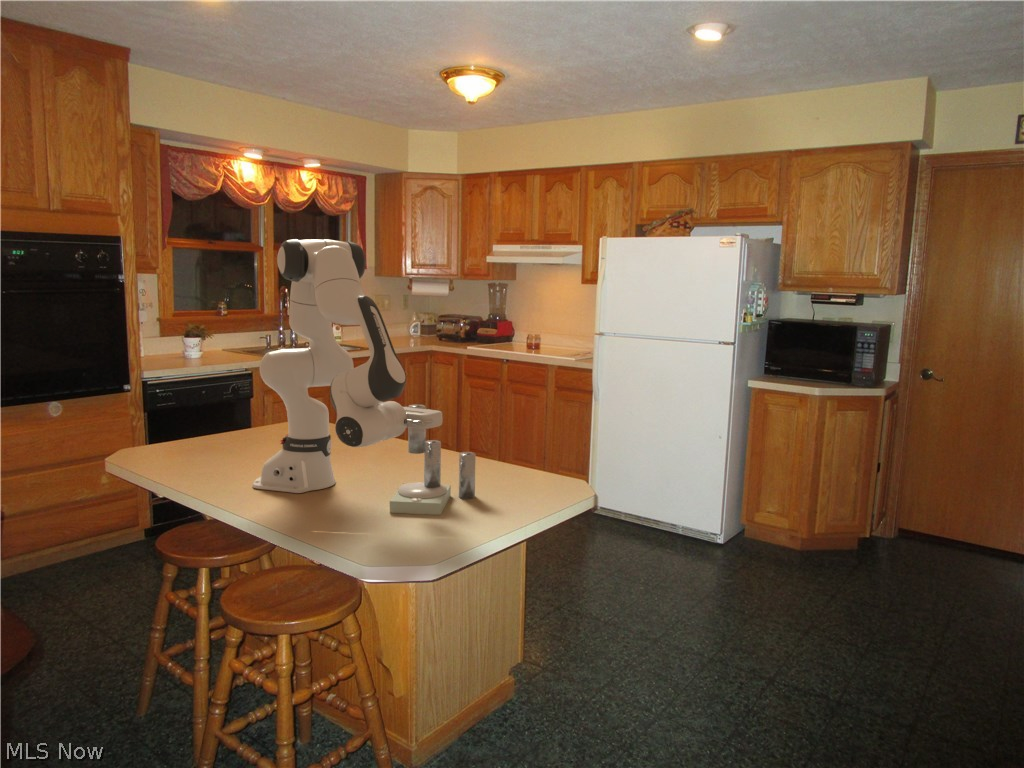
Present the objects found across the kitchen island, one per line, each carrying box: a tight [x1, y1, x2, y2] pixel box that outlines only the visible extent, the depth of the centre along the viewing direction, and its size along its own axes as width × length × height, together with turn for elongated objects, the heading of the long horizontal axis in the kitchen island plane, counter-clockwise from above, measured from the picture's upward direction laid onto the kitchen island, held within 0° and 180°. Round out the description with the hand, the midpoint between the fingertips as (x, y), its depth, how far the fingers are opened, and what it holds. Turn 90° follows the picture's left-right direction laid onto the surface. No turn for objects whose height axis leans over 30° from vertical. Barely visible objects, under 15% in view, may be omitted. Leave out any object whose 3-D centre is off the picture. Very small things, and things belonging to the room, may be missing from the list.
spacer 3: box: [458, 451, 477, 500], centre depth 193 cm, size 4×4×12 cm
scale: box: [389, 481, 452, 516], centre depth 187 cm, size 13×16×4 cm
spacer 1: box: [407, 404, 427, 455], centre depth 183 cm, size 4×4×12 cm
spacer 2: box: [423, 439, 442, 488], centre depth 191 cm, size 4×4×12 cm
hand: (418, 411), depth 183 cm, fingers closed on spacer 1, 4 cm apart
